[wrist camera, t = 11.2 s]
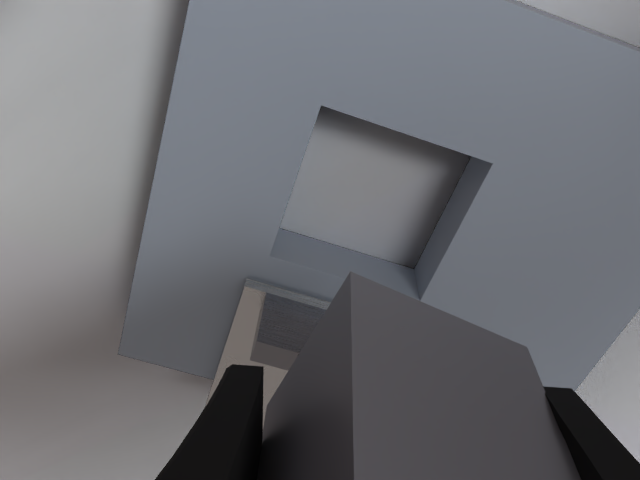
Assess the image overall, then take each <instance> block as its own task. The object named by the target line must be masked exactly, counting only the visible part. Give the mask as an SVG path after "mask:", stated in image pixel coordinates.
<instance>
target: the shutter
mask: <svg viewBox="0 0 640 480" xmlns="http://www.w3.org/2000/svg"><path fill="white" fill-rule="evenodd" d="M330 303H331V302H328V301H325V300H321V299H318V298H315V297H311V296H308V295H304V294H301V293H297V292H294V291H291V290H287V289H284V288H280V287H277V286H273V285H270V284H267V283H263V282H260V281H256V280H253V279H249V278H247V279H246V282H245V285H244V288H243V291H242V294H241V297H240V301H239V304H238V307H237V310H236V313H235V316H234V319H233V322H232V325H231V328H230V331H229V334H228V337H227V340H226V343H225V346H224V349H223V353H222V356H221V359H220V362H219V365H218V368H217V371H216V374H215V377H214V380H213V383H212V386H211V389H210V392H209V395H208V398H207V401H206V405H207V404H208V402H209V400H210V398H211V397H212V395H213V393H214V391H215V390H216V388H217V386H218V384H219V382H220V380H221V378H222V376H223V374H224V372H225V370H226V368H228V367H229V366H230V365H232V364H236V365H250V366H264V375H263V427H264V420H265V414H266V407H267V404H268V403H269V401H270V400H271V398H272V396H273V395H274V393H275V392H276V390H277V388H278V387H279V385H280V384H281V382H282V380H283V379H284V377H285V375H286V374H287V372H288V371H289V369H290V367H291V366H292V364H293V363H294V361H295V359H296V358H297V356H298V355H299V353H300V351H301V350H302V348H303V347H304V345H305V343H306V342H307V340H308V339H309V337H310V335H311V334H312V332H313V331H314V329H315V327H316V326H317V324H318V323H319V321H320V319H321V318H322V316H323V315H324V313H325V311H326V310H327V308H328V306H329V305H330ZM206 405H205V407H206Z"/></svg>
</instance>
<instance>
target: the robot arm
mask: <svg viewBox="0 0 640 480" xmlns="http://www.w3.org/2000/svg"><path fill="white" fill-rule="evenodd" d="M263 375H264V366H250V365H236V364H232V365H230V366H229V367H228V368H226V370H225V372H224V374H223V376H222V378H221V380H220V382H219V384H218V386H217V388H216V390H215V391H214V393H213V395H212V397H211V398H210V400H209V402H208V404H207V405H206V407H205V408H204V410H203V412H202V413H201V415H200V416H199V418H198V420H197V421H196V423H195V424H194V426H193V427H192V429H191V430H190V432H189V433H188V434H187V436H186V437H185V439H184V440H183V442H182V443H181V445H180V446H179V448H178V449H177V451H176V452H175V454H174V455H173V456H172V458H171V459H170V460H169V462H168V463H167V464H166V466H165V467H164V468H163V470H162V471H161V472H160V474H159V475H158V476H157V477H156V479H155V480H257V474H258V468H259V461H260V454H261V448H262V440H263ZM543 387H544V390H545V395H546V397H547V400H548V402H549V405H550V407H551V410H552V412H553V415H554V417H555V420H556V422H557V425H558V427H559V429H560V431H561V433H562V435H563V437H564V439H565V441H566V444H567V446H568V449H569V451H570V453H571V456H572V458H573V461H574V463H575V466H576V468H577V471H578V473H579V476H580V478H581V480H640V463H639V462H638V461H637V460H636V459H635V458H634V457H633V456H632V455H631V454H630V453H629V451H628V450H627V449H626V448H625V447H624V446H623V445H622V444H621V443H620V442H619V440H618V439H617V438H616V437H615V436H614V435H613V434H612V433H611V432H610V430H609V429H608V428H607V427H606V426H605V425H604V424H603V423H602V422H601V420H600V419H599V418H598V417H597V416H596V415H595V414H594V413H593V411H592V410H591V409H590V408H589V407H588V406H587V405H586V404H585V403H584V401H583V400H582V399H581V398H580V397H579V396H578V395H577V394H576V393H575V392H574V391H573V389H572V388H559V387H545V386H543Z"/></svg>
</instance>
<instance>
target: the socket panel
mask: <svg viewBox="0 0 640 480" xmlns="http://www.w3.org/2000/svg"><path fill="white" fill-rule="evenodd" d="M321 106H324V107H327V108H330V109H333V110H336V111H339V112H342V113H345V114H348V115H351V116H354V117H357V118H360V119H363V120H366V121H369V122H372V123H374V124H377V125H380V126H383V127H386V128H389V129H392V130H395V131H398V132H401V133H404V134H407V135H410V136H413V137H416V138H419V139H422V140H425V141H428V142H431V143H434V144H436V145H439V146H442V147H445V148H448V149H451V150H454V151H457V152H460V153H463V154H466V155H469V156H471V158H470V160H469V162H468V164H467V166H466V168H465V170H464V172H463V174H462V176H461V178H460V180H459V182H458V184H457V186H456V188H455V190H454V192H453V194H452V196H451V198H450V200H449V202H448V203H447V205H446V207H445V209H444V211H443V213H442V215H441V217H440V219H439V221H438V223H437V225H436V227H435V229H434V231H433V233H432V235H431V237H430V239H429V241H428V243H427V245H426V247H425V249H424V251H423V253H422V255H421V257H420V259H419V261H418V263H417V265H416V267H415V269H411V268H408V267H405V266H402V265H398V264H395V263H392V262H389V261H385V260H382V259H379V258H375V257H372V256H369V255H366V254H362V253H359V252H356V251H353V250H349V249H346V248H343V247H339V246H336V245H333V244H330V243H326V242H323V241H320V240H317V239H313V238H310V237H307V236H304V235H300V234H297V233H294V232H290V231H287V230H284V229H281V228H279V227H280V224H281V221H282V218H283V215H284V212H285V209H286V207H287V204H288V201H289V198H290V195H291V192H292V189H293V186H294V183H295V180H296V177H297V175H298V172H299V169H300V166H301V163H302V160H303V157H304V154H305V151H306V148H307V145H308V143H309V140H310V137H311V134H312V131H313V128H314V125H315V122H316V119H317V116H318V113H319V111H320V108H321ZM350 271H351V272H353V273H356V274H358V275H360V276H363V277H365V278H367V279H370V280H372V281H374V282H377V283H379V284H381V285H384V286H386V287H388V288H391V289H393V290H395V291H398V292H400V293H402V294H405V295H407V296H409V297H412V298H414V299H416V300H419V301H421V302H423V303H426V304H428V305H430V306H433V307H435V308H437V309H440V310H442V311H444V312H447V313H449V314H451V315H454V316H456V317H458V318H461V319H463V320H465V321H468V322H470V323H472V324H475V325H477V326H479V327H482V328H484V329H486V330H489V331H491V332H493V333H496V334H498V335H500V336H503V337H505V338H507V339H510V340H512V341H514V342H517V343H519V344H521V345H524V346H526V347H527V348H528V350H529V353H530V355H531V358H532V360H533V363H534V365H535V367H536V370H537V372H538V375H539V377H540V380H541V382H542V385H543V386H545V387H559V388H572V389H573V391H575V390H576V389H577V388H578V386H579V385H580V384H581V383H582V381H583V380H584V379H585V377H586V376H587V375H588V374H589V372H590V371H591V370H592V369H593V367H594V366H595V365H596V363H597V362H598V361H599V360H600V358H601V357H602V356H603V355H604V353H605V352H606V351H607V349H608V348H609V347H610V346H611V344H612V343H613V342H614V341H615V339H616V338H617V337H618V335H619V334H620V333H621V332H622V330H623V329H624V328H625V327H626V325H627V324H628V323H629V321H630V320H631V319H632V318H633V316H634V315H635V314H636V313H637V311H638V310H639V309H640V48H639V47H636V46H633V45H631V44H628V43H625V42H623V41H620V40H618V39H615V38H612V37H610V36H607V35H604V34H602V33H599V32H597V31H594V30H591V29H589V28H586V27H584V26H581V25H578V24H576V23H573V22H570V21H568V20H565V19H563V18H560V17H557V16H555V15H552V14H549V13H547V12H544V11H542V10H539V9H536V8H534V7H531V6H529V5H526V4H523V3H521V2H518V1H515V0H189V5H188V10H187V15H186V20H185V25H184V30H183V35H182V40H181V45H180V50H179V55H178V60H177V64H176V69H175V74H174V79H173V84H172V89H171V94H170V99H169V104H168V109H167V114H166V119H165V124H164V129H163V134H162V139H161V144H160V149H159V154H158V159H157V163H156V168H155V173H154V178H153V183H152V188H151V193H150V198H149V203H148V208H147V213H146V218H145V223H144V228H143V233H142V238H141V243H140V248H139V253H138V258H137V262H136V267H135V272H134V277H133V282H132V287H131V292H130V297H129V302H128V307H127V312H126V317H125V322H124V327H123V332H122V337H121V342H120V347H119V352H118V355H122V356H126V357H129V358H133V359H137V360H141V361H145V362H148V363H152V364H156V365H160V366H163V367H167V368H171V369H175V370H178V371H182V372H186V373H190V374H193V375H197V376H201V377H205V378H209V379H212V380H214V377H215V374H216V371H217V368H218V365H219V362H220V359H221V356H222V353H223V349H224V346H225V343H226V340H227V337H228V334H229V331H230V328H231V325H232V322H233V319H234V316H235V313H236V310H237V307H238V304H239V301H240V297H241V294H242V291H243V288H244V285H245V282H246V279H247V278H249V279H253V280H256V281H260V282H263V283H267V284H270V285H273V286H277V287H280V288H284V289H287V290H291V291H294V292H297V293H301V294H304V295H308V296H311V297H315V298H318V299H321V300H325V301H328V302H332V300H333V298H334V297H335V295H336V294H337V292H338V290H339V289H340V287H341V286H342V284H343V282H344V281H345V279H346V278H347V276H348V274H349V273H350Z"/></svg>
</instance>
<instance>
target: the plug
mask: <svg viewBox="0 0 640 480" xmlns="http://www.w3.org/2000/svg"><path fill="white" fill-rule="evenodd" d="M257 480H581V478H580V476H579V473H578V471H577V468H576V466H575V463H574V461H573V458H572V456H571V453H570V451H569V449H568V446H567V444H566V441H565V439H564V437H563V435H562V433H561V431H560V429H559V427H558V425H557V422H556V420H555V417H554V415H553V412H552V410H551V407H550V405H549V402H548V400H547V397H546V395H545V390H544V387H543V385H542V382H541V380H540V377H539V375H538V372H537V370H536V367H535V365H534V363H533V360H532V358H531V355H530V353H529V350H528V348H527V347H526V346H524V345H521V344H519V343H517V342H514V341H512V340H510V339H507V338H505V337H503V336H500V335H498V334H496V333H493V332H491V331H489V330H486V329H484V328H482V327H479V326H477V325H475V324H472V323H470V322H468V321H465V320H463V319H461V318H458V317H456V316H454V315H451V314H449V313H447V312H444V311H442V310H440V309H437V308H435V307H433V306H430V305H428V304H426V303H423V302H421V301H419V300H416V299H414V298H412V297H409V296H407V295H405V294H402V293H400V292H398V291H395V290H393V289H391V288H388V287H386V286H384V285H381V284H379V283H377V282H374V281H372V280H370V279H367V278H365V277H363V276H360V275H358V274H356V273H353V272H351V271H350V273H349V274H348V276H347V278H346V279H345V281H344V282H343V284H342V286H341V287H340V289H339V290H338V292H337V294H336V295H335V297H334V298H333V300H332V302H331V303H330V305H329V306H328V308H327V310H326V311H325V313H324V315H323V316H322V318H321V319H320V321H319V323H318V324H317V326H316V327H315V329H314V331H313V332H312V334H311V335H310V337H309V339H308V340H307V342H306V343H305V345H304V347H303V348H302V350H301V351H300V353H299V355H298V356H297V358H296V359H295V361H294V363H293V364H292V366H291V367H290V369H289V371H288V372H287V374H286V375H285V377H284V379H283V380H282V382H281V384H280V385H279V387H278V388H277V390H276V392H275V393H274V395H273V396H272V398H271V400H270V401H269V403H268V404H267V407H266V414H265V420H264V427H263V440H262V448H261V454H260V461H259V468H258V474H257Z"/></svg>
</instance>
